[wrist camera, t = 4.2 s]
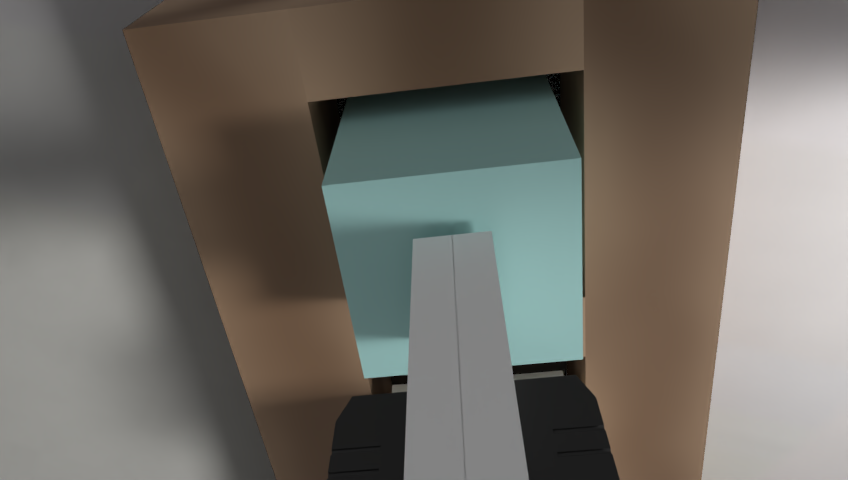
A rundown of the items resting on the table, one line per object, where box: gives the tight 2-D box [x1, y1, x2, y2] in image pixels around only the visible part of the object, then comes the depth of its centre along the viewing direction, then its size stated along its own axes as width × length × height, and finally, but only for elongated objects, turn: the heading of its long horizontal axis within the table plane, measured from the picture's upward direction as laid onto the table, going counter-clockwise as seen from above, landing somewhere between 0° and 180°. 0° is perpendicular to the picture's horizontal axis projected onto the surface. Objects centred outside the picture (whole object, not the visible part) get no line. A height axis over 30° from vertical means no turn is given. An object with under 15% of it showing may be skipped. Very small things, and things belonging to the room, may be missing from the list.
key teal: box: [322, 75, 583, 378], centre depth 16 cm, size 5×5×5 cm
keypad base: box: [123, 0, 758, 480], centre depth 22 cm, size 13×26×4 cm, turn 7°
